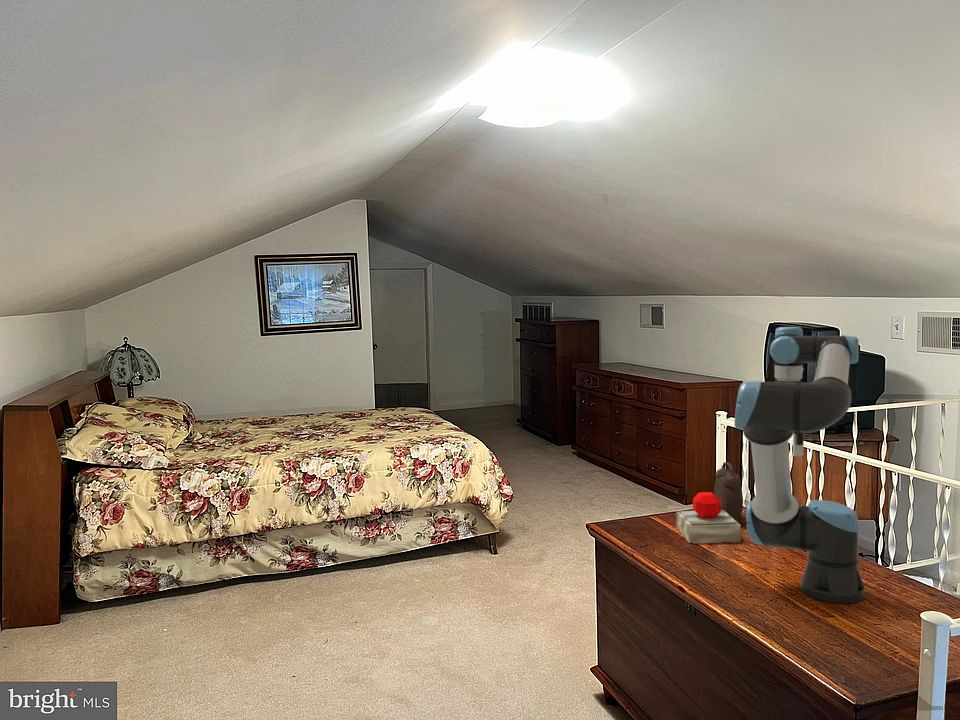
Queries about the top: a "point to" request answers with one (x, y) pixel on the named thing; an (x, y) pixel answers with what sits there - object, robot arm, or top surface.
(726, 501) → the brown backpack
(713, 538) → the stand
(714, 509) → the ball
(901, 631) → the top surface
